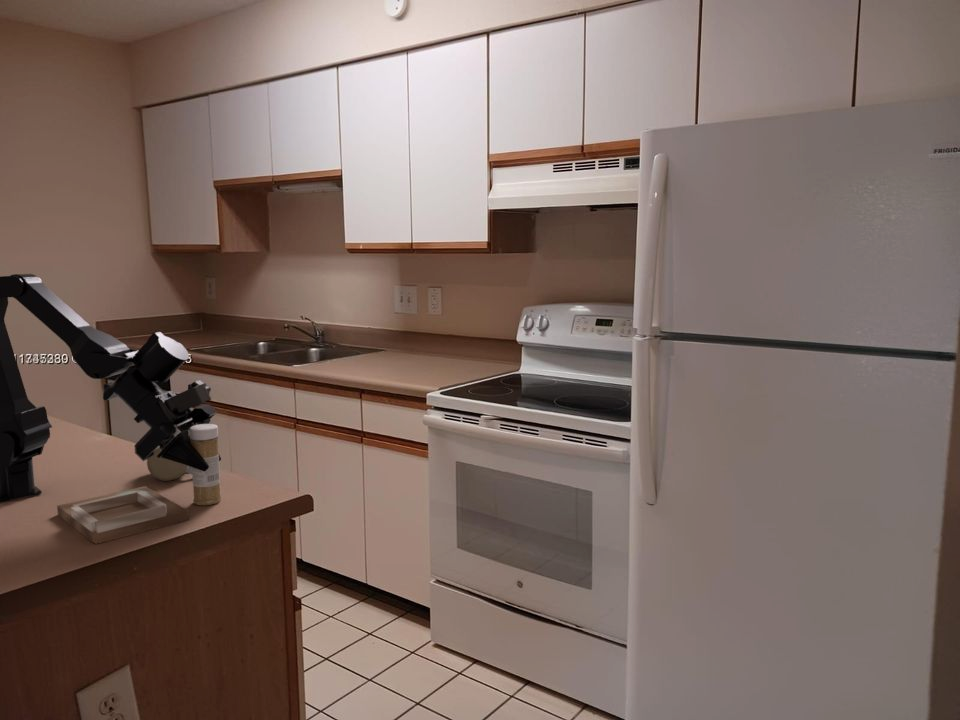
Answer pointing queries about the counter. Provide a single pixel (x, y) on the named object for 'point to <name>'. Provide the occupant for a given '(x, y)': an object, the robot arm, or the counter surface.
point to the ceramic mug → (166, 467)
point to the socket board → (121, 514)
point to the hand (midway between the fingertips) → (213, 465)
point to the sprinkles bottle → (207, 447)
